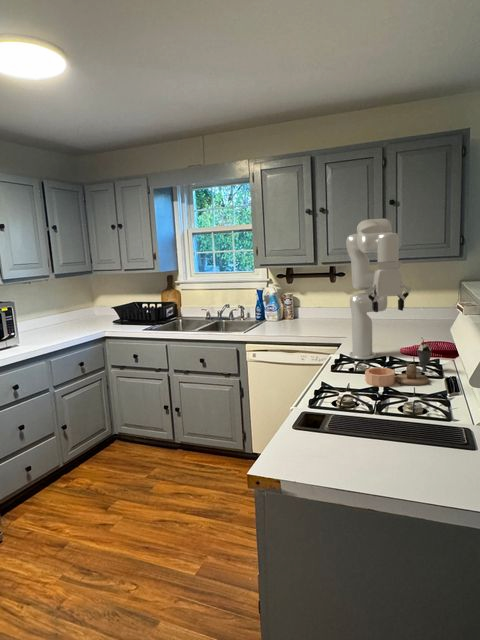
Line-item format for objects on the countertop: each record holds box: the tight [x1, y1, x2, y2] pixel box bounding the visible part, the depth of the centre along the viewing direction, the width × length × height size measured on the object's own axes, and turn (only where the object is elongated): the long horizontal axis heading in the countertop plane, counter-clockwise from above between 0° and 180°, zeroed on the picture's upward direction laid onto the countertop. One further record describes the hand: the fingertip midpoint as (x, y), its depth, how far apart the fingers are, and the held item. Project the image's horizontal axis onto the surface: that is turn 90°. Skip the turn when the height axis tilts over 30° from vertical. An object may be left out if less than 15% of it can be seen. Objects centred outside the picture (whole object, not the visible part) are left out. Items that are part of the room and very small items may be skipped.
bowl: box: [364, 366, 396, 388], centre depth 180 cm, size 11×11×5 cm
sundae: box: [415, 337, 433, 373], centre depth 189 cm, size 7×7×15 cm
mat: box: [397, 381, 433, 387], centre depth 179 cm, size 12×12×1 cm
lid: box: [395, 364, 429, 387], centre depth 178 cm, size 12×12×6 cm
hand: (388, 310), depth 170 cm, fingers open, 9 cm apart
